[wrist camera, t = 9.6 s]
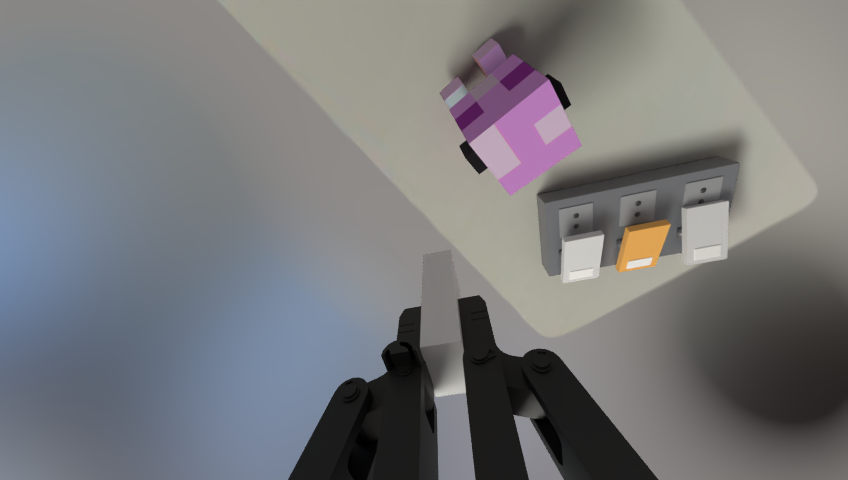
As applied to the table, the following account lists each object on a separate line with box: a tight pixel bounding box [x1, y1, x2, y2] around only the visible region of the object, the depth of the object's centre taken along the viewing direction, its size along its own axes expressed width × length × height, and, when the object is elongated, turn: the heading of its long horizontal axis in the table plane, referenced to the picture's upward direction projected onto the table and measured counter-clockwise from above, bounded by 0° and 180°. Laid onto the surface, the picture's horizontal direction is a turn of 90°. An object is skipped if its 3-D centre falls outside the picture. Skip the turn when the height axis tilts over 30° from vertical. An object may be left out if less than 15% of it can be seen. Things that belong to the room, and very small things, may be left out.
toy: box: [440, 38, 582, 196], centre depth 35 cm, size 11×8×15 cm
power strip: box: [537, 157, 740, 276], centre depth 46 cm, size 12×24×4 cm, turn 103°
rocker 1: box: [561, 230, 604, 283], centre depth 45 cm, size 8×5×1 cm, turn 13°
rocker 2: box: [616, 219, 671, 272], centre depth 44 cm, size 8×5×1 cm, turn 13°
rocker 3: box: [682, 200, 729, 265], centre depth 43 cm, size 8×5×1 cm, turn 14°
